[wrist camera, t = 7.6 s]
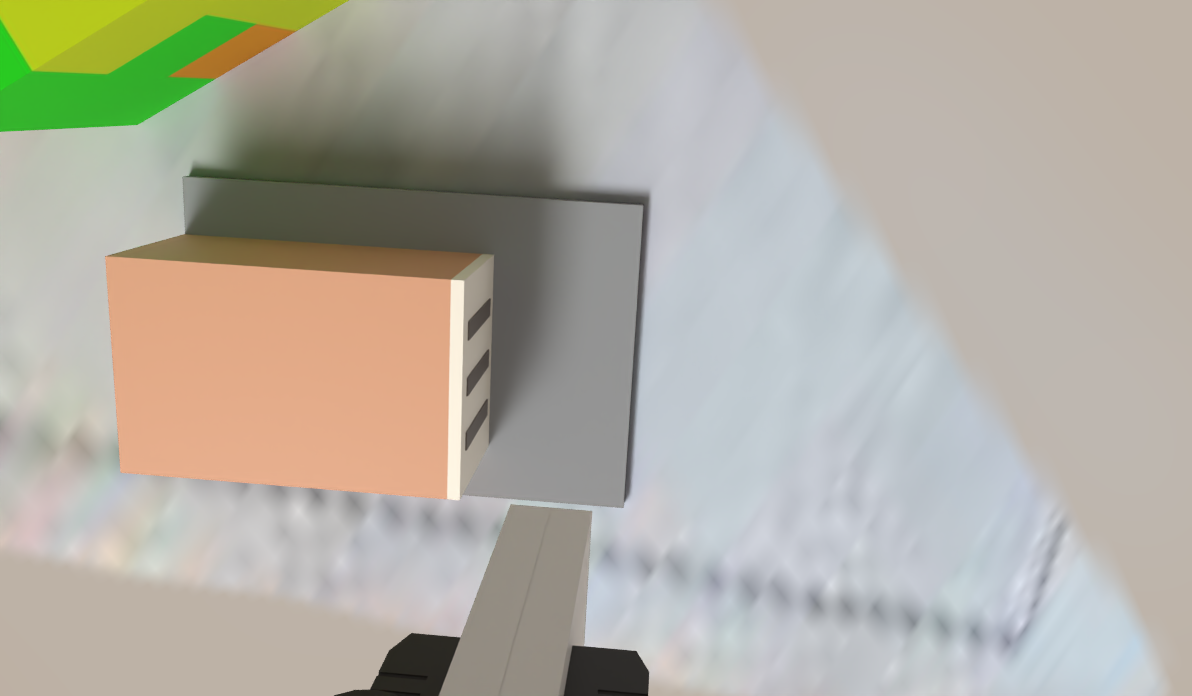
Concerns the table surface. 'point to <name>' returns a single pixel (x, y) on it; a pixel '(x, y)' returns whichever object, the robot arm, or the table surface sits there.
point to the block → (302, 363)
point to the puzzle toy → (128, 54)
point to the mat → (496, 310)
